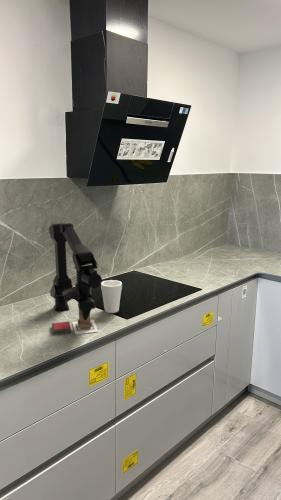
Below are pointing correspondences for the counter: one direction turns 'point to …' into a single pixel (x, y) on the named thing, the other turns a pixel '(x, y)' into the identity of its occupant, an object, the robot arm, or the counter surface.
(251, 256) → the counter surface
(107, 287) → the foam cup
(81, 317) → the stamp
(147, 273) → the counter surface
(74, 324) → the paper sheet
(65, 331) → the ink pad
